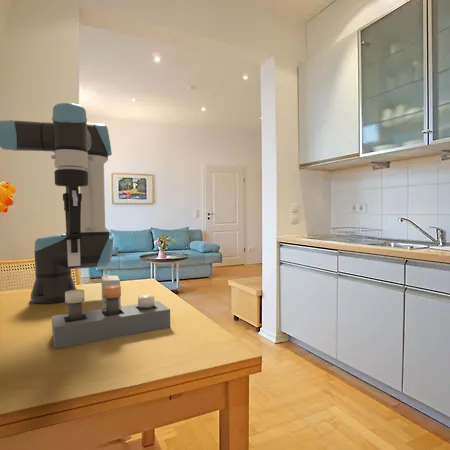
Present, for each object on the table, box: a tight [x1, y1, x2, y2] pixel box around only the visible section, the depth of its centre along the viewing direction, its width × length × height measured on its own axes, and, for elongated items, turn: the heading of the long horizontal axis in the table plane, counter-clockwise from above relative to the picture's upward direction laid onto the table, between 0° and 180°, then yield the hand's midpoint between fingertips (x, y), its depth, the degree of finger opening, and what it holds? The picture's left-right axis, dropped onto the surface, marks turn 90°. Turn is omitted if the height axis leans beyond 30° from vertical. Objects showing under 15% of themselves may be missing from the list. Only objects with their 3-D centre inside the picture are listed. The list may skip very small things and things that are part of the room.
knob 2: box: [137, 294, 155, 311], centre depth 95 cm, size 4×4×7 cm
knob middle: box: [103, 285, 122, 316], centre depth 91 cm, size 4×4×7 cm
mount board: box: [51, 300, 171, 350], centre depth 91 cm, size 10×28×5 cm, turn 120°
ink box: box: [101, 274, 122, 309], centre depth 104 cm, size 8×5×12 cm, turn 23°
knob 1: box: [64, 289, 85, 322], centre depth 86 cm, size 4×4×7 cm
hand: (74, 265), depth 86 cm, fingers closed
